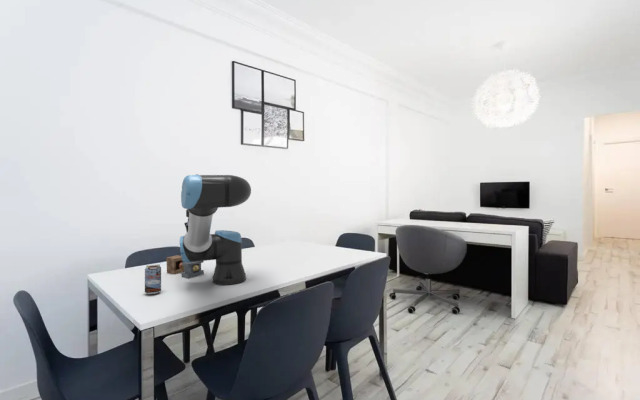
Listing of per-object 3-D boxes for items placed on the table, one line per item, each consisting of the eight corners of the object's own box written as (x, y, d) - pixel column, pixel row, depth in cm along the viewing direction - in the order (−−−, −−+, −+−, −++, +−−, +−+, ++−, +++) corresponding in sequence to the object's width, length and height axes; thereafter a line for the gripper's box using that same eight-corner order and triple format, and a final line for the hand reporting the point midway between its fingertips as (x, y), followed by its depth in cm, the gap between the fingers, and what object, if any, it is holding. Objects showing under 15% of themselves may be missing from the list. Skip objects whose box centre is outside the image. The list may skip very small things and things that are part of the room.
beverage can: (144, 297, 132) (143, 267, 132) (145, 291, 139) (144, 263, 139) (161, 294, 135) (160, 265, 134) (162, 289, 142) (161, 261, 141)
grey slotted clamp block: (203, 274, 166) (203, 260, 166) (188, 278, 159) (187, 264, 158) (197, 273, 169) (196, 259, 169) (181, 277, 161) (181, 263, 161)
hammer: (199, 270, 163) (199, 251, 163) (193, 272, 160) (193, 252, 160) (184, 268, 170) (183, 249, 169) (178, 269, 167) (177, 250, 166)
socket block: (185, 271, 172) (184, 256, 172) (174, 274, 166) (173, 258, 166) (178, 270, 175) (177, 255, 175) (166, 273, 170) (166, 257, 169)
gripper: (209, 208, 161) (210, 256, 162) (192, 208, 168) (193, 254, 169) (196, 209, 154) (197, 259, 155) (179, 209, 161) (180, 256, 162)
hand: (195, 256), depth 162 cm, fingers closed
